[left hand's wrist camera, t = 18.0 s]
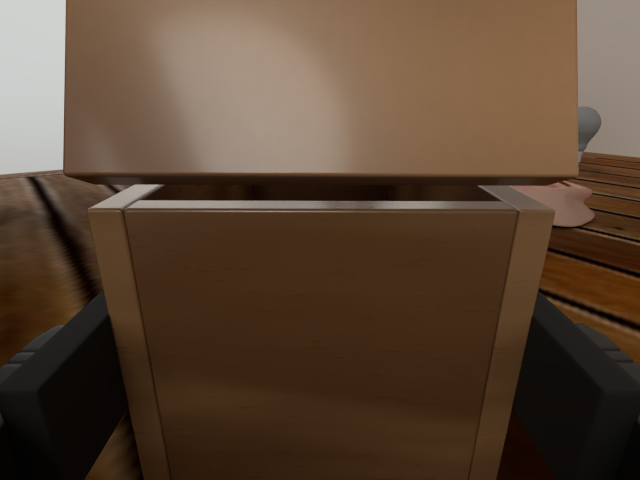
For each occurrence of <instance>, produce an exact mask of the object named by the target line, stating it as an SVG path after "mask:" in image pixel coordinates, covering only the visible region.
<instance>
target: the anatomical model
mask: <svg viewBox="0 0 640 480" xmlns="http://www.w3.org/2000/svg"><path fill="white" fill-rule="evenodd" d="M509 187H511V188H513V189H515V190H517V191H519V192H521V193H523V194H524V195H526V196H528V197H530V198H532V199H534V200H536V201H538V202H540V203H542V204H544V205H546V206H548V207H550V208H552V209H554V210H555V216H554V221H553V226H561V227H576V226H580V225H583V224H585V223H587V222H589V221H591V220H592V219H593V218H594V216H595V214H594V213H593V212H592V211H591V210H590V209H589V208H588V207H587V206H586V205H585V204H584V202H585V201H586V200H587V199H589V198H590V197H591V195H592V190H591V189H589V188H586V187H583V186H580V185H576V184H573V183H570V182H566V181H562V182H558V183H555V184H551V185H547V186H509Z"/></svg>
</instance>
